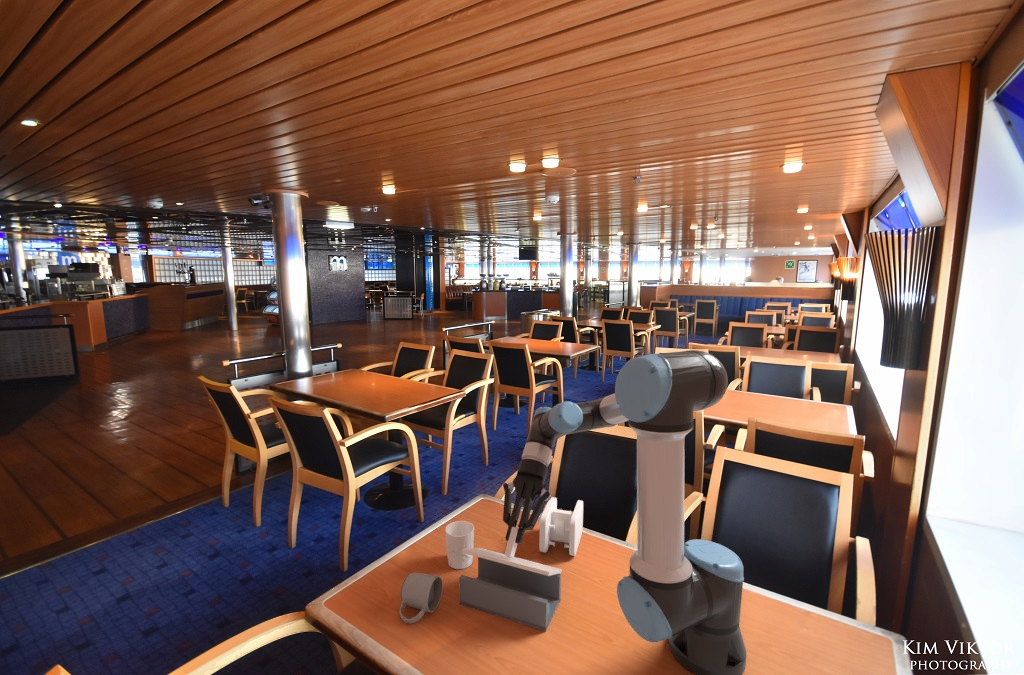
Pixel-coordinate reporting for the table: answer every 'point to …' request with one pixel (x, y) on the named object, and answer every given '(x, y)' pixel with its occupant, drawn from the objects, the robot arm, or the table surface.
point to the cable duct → (512, 593)
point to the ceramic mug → (420, 594)
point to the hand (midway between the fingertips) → (508, 556)
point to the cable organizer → (560, 526)
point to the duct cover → (513, 561)
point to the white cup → (459, 543)
